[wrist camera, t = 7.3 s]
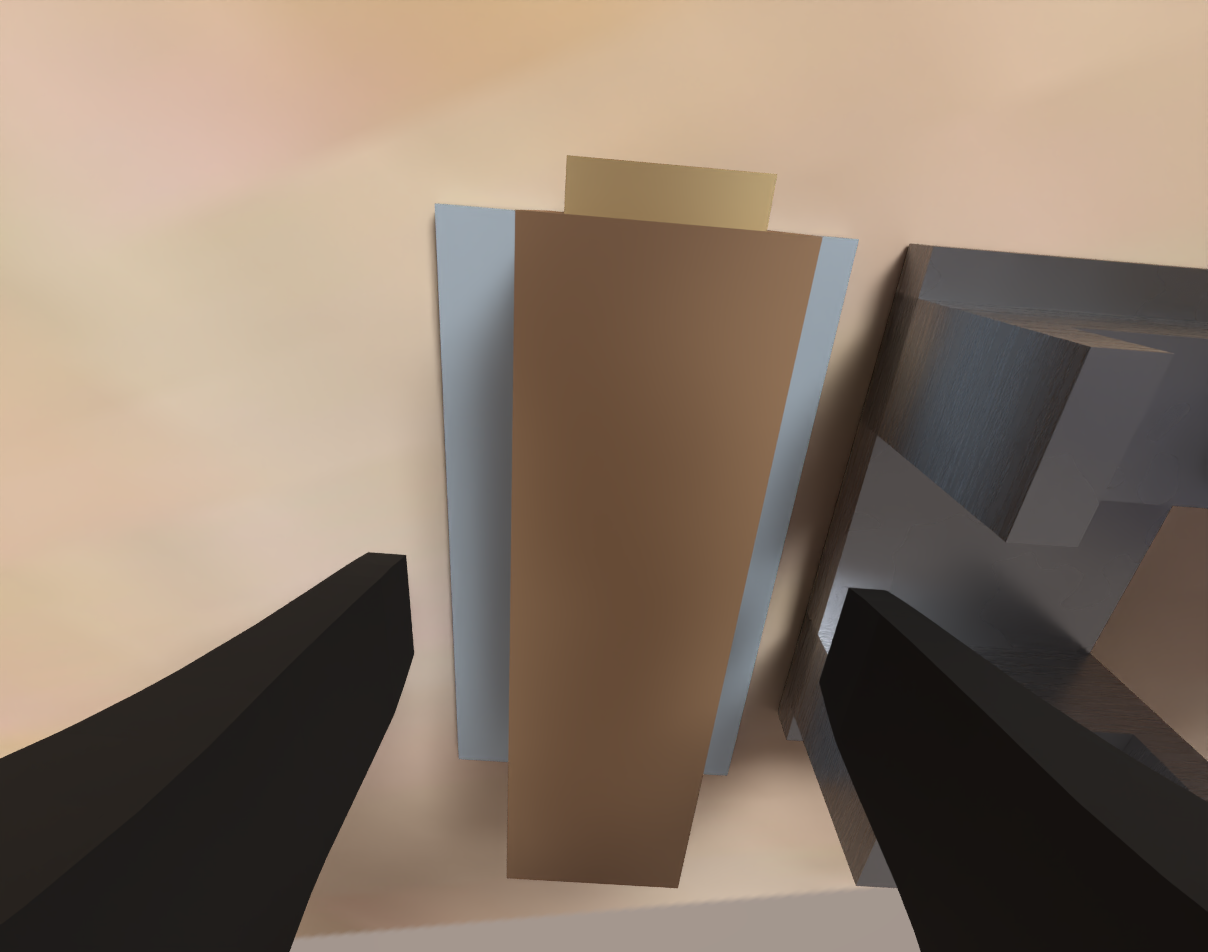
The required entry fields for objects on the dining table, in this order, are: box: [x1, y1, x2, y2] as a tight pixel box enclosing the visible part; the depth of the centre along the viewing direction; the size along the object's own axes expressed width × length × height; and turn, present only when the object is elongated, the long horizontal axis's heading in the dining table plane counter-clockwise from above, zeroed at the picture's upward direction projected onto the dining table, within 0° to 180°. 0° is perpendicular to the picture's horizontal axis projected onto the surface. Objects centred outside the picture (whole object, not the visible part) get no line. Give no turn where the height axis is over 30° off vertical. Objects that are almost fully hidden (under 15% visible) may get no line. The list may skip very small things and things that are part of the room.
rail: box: [507, 155, 823, 888], centre depth 10 cm, size 3×13×3 cm, turn 176°
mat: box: [435, 204, 859, 776], centre depth 12 cm, size 7×13×1 cm, turn 176°
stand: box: [778, 244, 1208, 888], centre depth 10 cm, size 6×11×4 cm, turn 176°
